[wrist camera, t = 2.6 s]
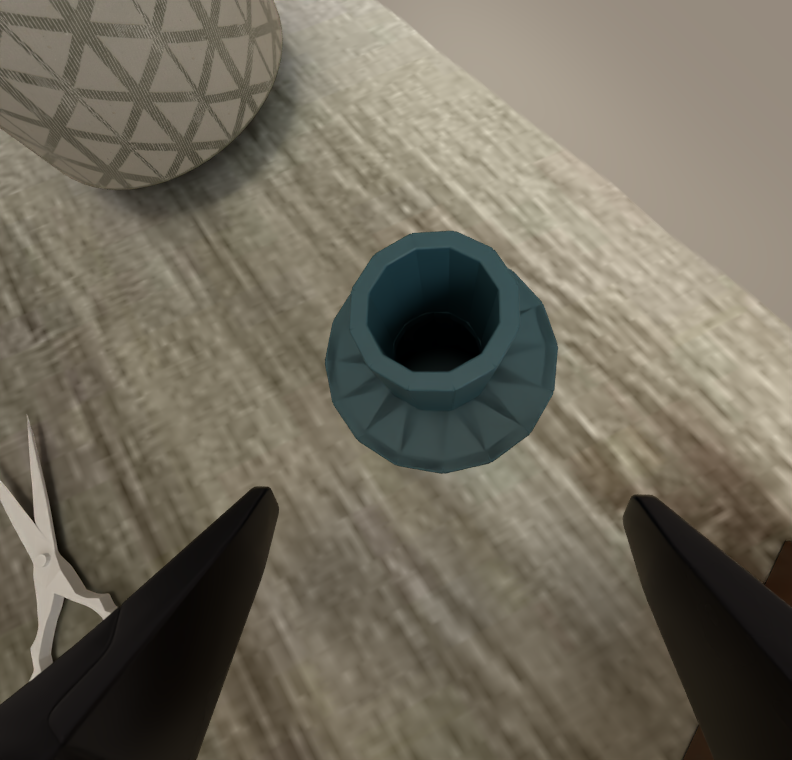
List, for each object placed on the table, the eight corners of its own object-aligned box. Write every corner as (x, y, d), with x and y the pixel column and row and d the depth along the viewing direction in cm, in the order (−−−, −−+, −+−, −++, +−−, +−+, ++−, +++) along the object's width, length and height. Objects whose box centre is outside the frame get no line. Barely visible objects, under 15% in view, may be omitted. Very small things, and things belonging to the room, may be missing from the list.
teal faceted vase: (463, 484, 19) (502, 563, 6) (361, 419, 20) (211, 368, 7) (523, 378, 20) (681, 238, 7) (420, 323, 21) (379, 118, 8)
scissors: (31, 805, 18) (-72, 478, 23) (47, 791, 19) (-55, 478, 23) (196, 684, 18) (60, 382, 23) (206, 675, 19) (72, 385, 23)
